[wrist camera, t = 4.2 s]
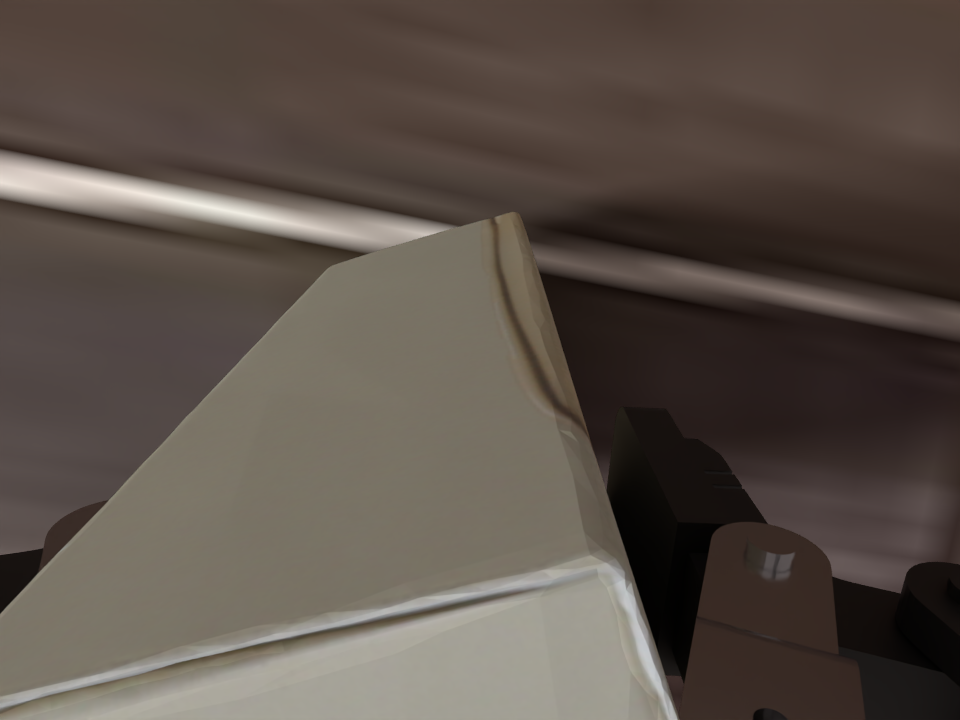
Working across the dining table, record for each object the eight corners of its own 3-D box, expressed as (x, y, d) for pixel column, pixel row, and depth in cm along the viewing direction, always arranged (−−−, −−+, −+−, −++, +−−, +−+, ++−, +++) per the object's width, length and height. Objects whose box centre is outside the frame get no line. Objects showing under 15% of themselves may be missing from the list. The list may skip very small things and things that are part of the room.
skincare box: (592, 465, 17) (850, 1249, 5) (405, 516, 17) (283, 1348, 6) (515, 195, 15) (673, 549, 3) (305, 259, 15) (-186, 772, 4)
